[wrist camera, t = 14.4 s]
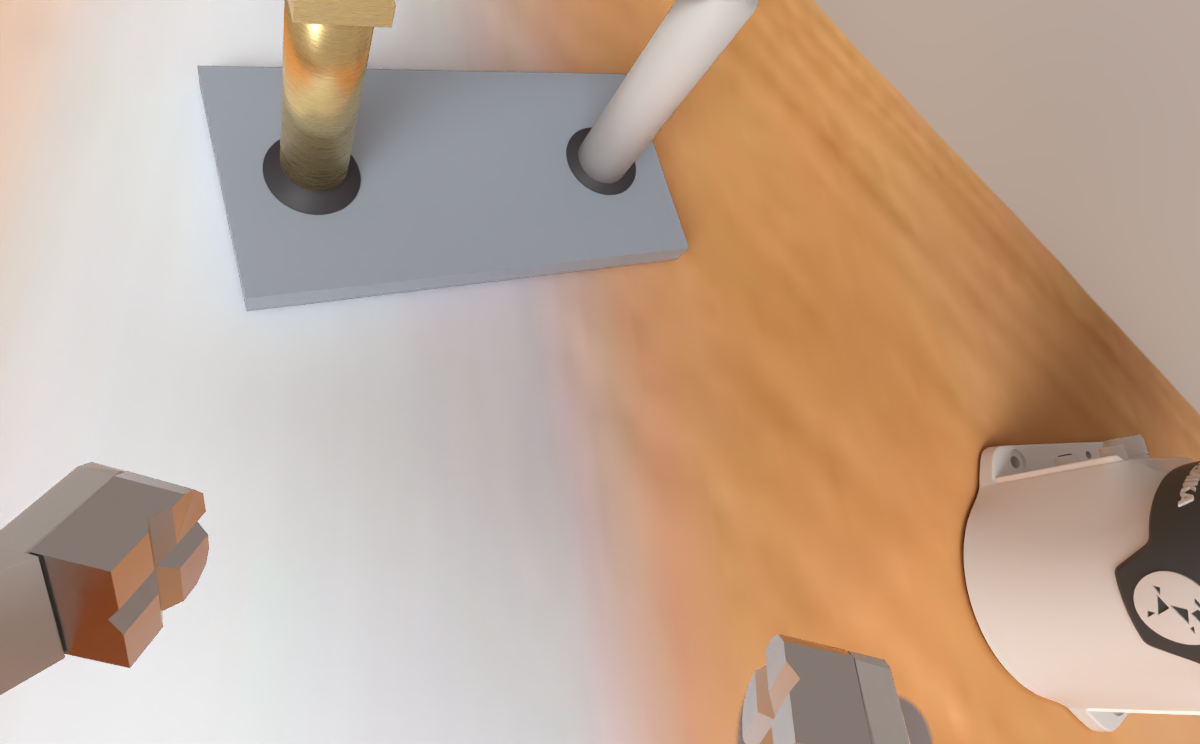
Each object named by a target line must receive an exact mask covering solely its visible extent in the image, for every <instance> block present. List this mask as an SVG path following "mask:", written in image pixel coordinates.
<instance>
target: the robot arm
mask: <svg viewBox="0 0 1200 744" xmlns="http://www.w3.org/2000/svg"><path fill="white" fill-rule="evenodd" d="M1147 454H1149V452H1148V451H1147V446H1146V443H1145V440H1144V438H1143V437H1142V436H1141V435H1132V436H1126V437H1121V438H1116V439H1111V440H1107V441H1104V442H1079V443H1055V444H1030V445H1005V446H994V447H988V448H986V449H985V450H984V451H983V452H982V455H981V460H980V485H979V492H978V495H977V498H976V500H975V503H974V505H973V508H972V510H971V512H970V515H969V518H968V522H967V526H966V531H965V539H964V570H965V578H966V585H967V589H968V594H969V598H970V602H971V605H972V608H973V611H974V614H975V617H976V620H977V622H978V624H979V627H980V629H981V631H982V633H983V635H984V637H985V639H986V641H987V643H988V645H989V646H990V648H991V650H992V651H993V653H994V654H995V656H996V657H997V659H998V660H999V661H1000V663H1001V664H1002V665H1003V666H1004V667H1005V669H1006V670H1007V671H1008V672H1009V673H1010V674H1011V675H1012V676H1013V677H1014V678H1015V679H1016V680H1017V681H1018V682H1019V683H1021V684H1022V685H1023V686H1024V687H1026V688H1027V689H1029V690H1030V691H1032V692H1033V693H1035V694H1037V695H1039V696H1041V697H1044V698H1047V699H1049V700H1052V701H1055V702H1058V703H1060V704H1062V705H1064V706H1066V707H1067V708H1068V709H1069V710H1070V711H1071V712H1072V713H1073V714H1074V715H1075V716H1076V717H1077V718H1078V719H1079V720H1080V721H1081V722H1082V723H1083V724H1084V725H1086V726H1087V727H1088V728H1090V729H1091V730H1093V731H1100V732H1111V731H1114V730H1115V729H1117V728H1118V726H1119V725H1120V724H1121V722H1122V721H1123V720H1124V718H1125V717H1126V716H1127V715H1128V713H1153V714H1186V715H1200V461H1198V462H1195V461H1194V460H1192V459H1189V458H1187V457H1165V458H1150V456H1148V455H1147ZM205 512H206V510H205V504H204V497H203V493H201V492H198V491H196V490H194V489H190V488H186V487H183V486H179V485H175V484H172V483H168V482H165V481H161V480H157V479H154V478H150V477H147V476H143V475H139V474H136V473H132V472H128V471H123V470H119V469H116V468H112V467H108V466H105V465H101V464H97V463H93V462H91V463H88V464H84V465H81V466H78V467H77V468H76V469H74V470H73V471H72V472H71V473H69V474H68V475H67V476H66V477H65V478H63V479H62V480H61V481H60V482H59V483H57V484H56V485H55V486H54V487H52V488H51V489H50V490H49V491H48V492H46V493H45V494H44V495H43V496H42V497H40V498H39V499H38V500H37V501H35V502H34V503H33V504H32V505H31V506H29V507H28V508H27V509H26V510H25V511H23V512H22V513H21V514H20V515H18V516H17V517H16V518H15V519H14V520H12V521H11V522H10V523H9V524H8V525H6V526H5V527H4V528H3V529H1V530H0V695H1V694H3V693H4V692H6V691H8V690H10V689H11V688H13V687H15V686H17V685H18V684H20V683H22V682H23V681H25V680H27V679H29V678H30V677H32V676H34V675H36V674H37V673H39V672H41V671H43V670H44V669H46V668H48V667H50V666H51V665H53V664H55V663H57V662H58V661H60V660H62V659H63V658H64V657H65V655H64V654H68V655H73V656H77V657H82V658H87V659H91V660H96V661H100V662H105V663H110V664H114V665H119V666H123V667H128V668H130V667H131V666H132V665H133V664H134V662H135V661H136V660H137V659H138V657H139V656H140V655H141V654H142V652H143V651H144V650H145V649H146V647H147V646H148V645H149V644H150V642H151V641H152V640H153V639H154V637H155V636H156V635H157V634H158V632H159V631H160V630H161V629H162V627H163V618H162V611H163V610H165V609H167V608H169V607H171V606H174V605H176V604H178V603H180V602H182V601H184V600H185V598H186V597H187V596H188V594H189V593H190V592H191V590H192V589H193V588H194V587H195V585H196V584H197V582H198V580H199V578H200V575H201V573H202V571H203V569H204V567H205V565H206V561H207V555H208V550H209V543H208V534H207V533H206V532H205V531H204V529H203V528H202V527H201V526H200V525H199V523H198V522H197V521H198V520H199V518H200V517H201V516H202V515H203V514H204V513H205ZM766 664H767V665H766V666H764V667H762V668H760V669H758V670H756V671H755V672H754V674H753V676H752V679H751V681H750V683H749V685H748V688H747V692H746V697H745V701H744V705H743V720H742V726H743V740H744V742H745V743H746V744H910V740H909V736H908V732H907V729H906V725H905V721H904V718H903V714H902V710H901V706H900V702H899V699H898V695H897V691H896V687H895V684H894V680H893V676H892V672H891V669H890V666H889V665H888V664H887V662H886V661H885V660H883V659H879V658H875V657H871V656H867V655H863V654H858V653H854V652H850V651H845V650H843V649H839V648H835V647H831V646H826V645H822V644H818V643H814V642H810V641H805V640H801V639H797V638H793V637H788V636H784V635H780V634H777V635H776V636H775V637H773V638H772V639H771V641H770V643H769V645H768V647H767V649H766Z"/></svg>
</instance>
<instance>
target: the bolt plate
mask: <svg viewBox="0 0 1200 744" xmlns="http://www.w3.org/2000/svg"><path fill="white" fill-rule="evenodd" d="M757 6H758V0H676V1H675V3H674V4H673V6H672V7H671V9H670V10H669V12H668V13H667V15H666V17H665V18H664V20H663V21H662V23H661V24H660V26H659V27H658V29H657V30H656V32H655V33H654V35H653V36H652V38H651V39H650V41H649V42H648V44H647V45H646V47H645V48H644V50H643V51H642V53H641V54H640V56H639V57H638V59H637V61H636V62H635V64H634V65H633V67H632V68H631V70H630V71H629V73H628V74H593V73H543V72H492V71H442V70H391V69H366V73H365V78H364V84H363V89H362V95H361V100H360V106H359V111H358V117H357V122H356V128H355V133H354V139H353V144H352V150H351V155H350V161H349V166H348V172H347V175H346V177H345V179H344V180H343V182H342V183H341V184H339V185H338V186H337V187H335V188H332V189H330V190H326V191H312V190H308V189H305V188H302V187H300V186H298V185H296V184H295V183H293V182H292V181H291V180H290V179H289V178H288V177H287V176H286V175H285V173H284V172H283V170H282V168H281V165H280V134H281V103H282V71H283V67H240V66H198V74H199V82H200V89H201V93H202V98H203V103H204V108H205V113H206V118H207V122H208V127H209V132H210V137H211V142H212V146H213V151H214V156H215V161H216V166H217V171H218V175H219V180H220V185H221V190H222V195H223V199H224V204H225V209H226V214H227V219H228V224H229V228H230V233H231V238H232V243H233V248H234V252H235V257H236V262H237V267H238V272H239V277H240V281H241V286H242V291H243V296H244V301H245V305H246V310H247V311H252V310H260V309H268V308H276V307H285V306H293V305H301V304H310V303H318V302H326V301H334V300H343V299H351V298H359V297H368V296H376V295H384V294H392V293H401V292H409V291H417V290H426V289H434V288H442V287H450V286H459V285H467V284H475V283H484V282H492V281H500V280H508V279H517V278H525V277H533V276H542V275H550V274H558V273H566V272H575V271H583V270H591V269H600V268H608V267H616V266H625V265H633V264H641V263H649V262H658V261H666V260H674V259H677V258H679V257H680V256H681V255H682V254H683V253H684V252H685V251H686V250H688V249H689V247H688V244H687V241H686V238H685V235H684V232H683V229H682V226H681V223H680V220H679V217H678V214H677V211H676V209H675V206H674V203H673V200H672V197H671V194H670V191H669V188H668V185H667V182H666V179H665V176H664V173H663V170H662V167H661V165H660V162H659V159H658V156H657V153H656V150H655V147H654V144H653V141H652V139H653V138H654V136H655V135H656V134H657V133H658V131H659V130H660V129H661V128H662V126H663V125H664V124H665V123H666V121H667V120H668V119H669V118H670V116H671V115H672V114H673V113H674V111H675V110H676V109H677V108H678V106H679V105H680V104H681V103H682V101H683V100H684V99H685V98H686V96H687V95H688V94H689V93H690V91H691V90H692V89H693V88H694V86H695V85H696V84H697V83H698V81H699V80H700V79H701V78H702V76H703V75H704V74H705V73H706V71H707V70H708V69H709V68H710V66H711V65H712V64H713V63H714V61H715V60H716V59H717V58H718V56H719V55H720V54H721V53H722V51H723V50H724V49H725V48H726V46H727V45H728V44H729V43H730V41H731V40H732V39H733V37H734V36H735V35H736V34H737V32H738V31H739V30H740V29H741V27H742V26H743V25H744V24H745V22H746V21H747V20H748V19H749V17H750V16H751V15H752V14H753V12H754V11H755V10H756V8H757Z"/></svg>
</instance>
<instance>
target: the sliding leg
mask: <svg viewBox="0 0 1200 744" xmlns="http://www.w3.org/2000/svg"><path fill="white" fill-rule="evenodd" d="M395 8H396V5H395V2H394V0H285V7H284V39H283V71H282V103H281V134H280V165H281V168H282V170H283V172H284V173H285V175H286V176H287V177H288V178H289V179H290V180H291V181H292V182H293V183H295V184H296V185H298V186H300V187H302V188H305V189H308V190H312V191H326V190H330V189H332V188H335V187H337V186H338V185H339V184H341V183H342V182H343V180H344V179H345V177H346V175H347V172H348V166H349V161H350V155H351V150H352V144H353V139H354V133H355V128H356V122H357V117H358V111H359V106H360V100H361V95H362V89H363V84H364V78H365V73H366V67H367V62H368V56H369V51H370V45H371V40H372V34H373V29H374V27H392V22H393V17H394V12H395Z"/></svg>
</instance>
